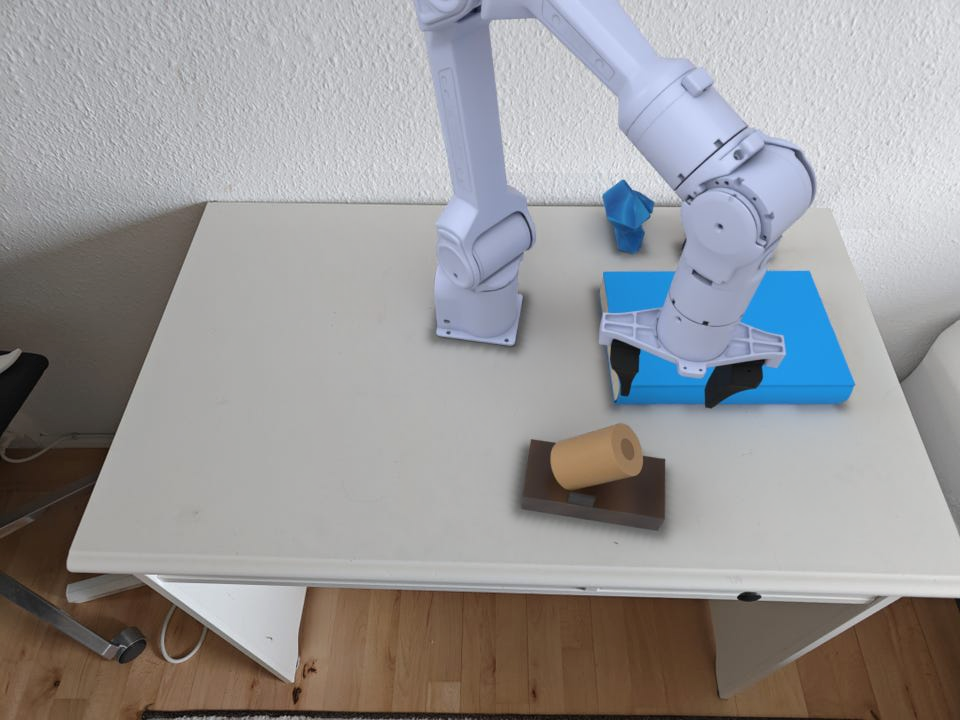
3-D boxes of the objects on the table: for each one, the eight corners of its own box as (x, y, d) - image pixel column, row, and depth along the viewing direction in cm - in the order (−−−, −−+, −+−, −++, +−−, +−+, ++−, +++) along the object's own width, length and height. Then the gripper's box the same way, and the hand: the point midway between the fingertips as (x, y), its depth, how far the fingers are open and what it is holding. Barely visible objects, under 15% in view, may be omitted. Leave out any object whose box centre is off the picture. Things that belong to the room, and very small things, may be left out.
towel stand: (521, 508, 63) (523, 489, 60) (529, 452, 67) (531, 430, 63) (658, 530, 62) (669, 512, 58) (658, 471, 66) (669, 450, 62)
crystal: (651, 163, 84) (677, 207, 75) (642, 222, 89) (665, 269, 80) (595, 166, 83) (615, 210, 74) (589, 224, 89) (606, 272, 80)
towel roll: (580, 498, 61) (547, 478, 58) (583, 454, 64) (552, 432, 61) (643, 484, 56) (610, 462, 54) (644, 437, 59) (613, 413, 57)
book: (601, 271, 76) (809, 266, 76) (596, 295, 80) (796, 290, 80) (620, 391, 67) (860, 386, 66) (614, 412, 70) (842, 407, 70)
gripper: (607, 325, 46) (584, 418, 57) (814, 352, 45) (749, 442, 56) (613, 256, 50) (590, 356, 61) (803, 279, 49) (744, 377, 60)
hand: (666, 393), depth 59 cm, fingers open, 7 cm apart
